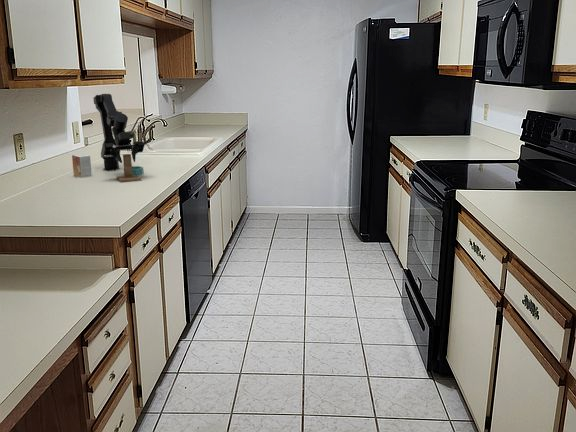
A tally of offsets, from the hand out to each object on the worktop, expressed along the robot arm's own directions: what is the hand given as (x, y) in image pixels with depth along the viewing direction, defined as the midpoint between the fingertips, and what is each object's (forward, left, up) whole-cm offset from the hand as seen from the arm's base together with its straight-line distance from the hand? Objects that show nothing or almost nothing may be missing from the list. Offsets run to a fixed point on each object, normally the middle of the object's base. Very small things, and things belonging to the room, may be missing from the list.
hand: (128, 162), depth 259 cm
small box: (-26, +10, -9) cm, 30 cm away
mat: (-1, +1, -9) cm, 9 cm away
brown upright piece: (-1, +1, -9) cm, 9 cm away
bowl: (-2, +15, -9) cm, 18 cm away
